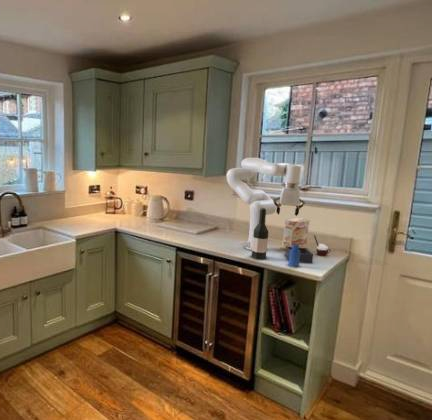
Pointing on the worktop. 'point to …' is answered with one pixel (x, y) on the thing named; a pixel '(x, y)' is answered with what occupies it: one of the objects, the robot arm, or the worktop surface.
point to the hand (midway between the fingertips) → (287, 214)
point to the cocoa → (321, 248)
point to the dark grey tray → (301, 254)
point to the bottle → (294, 256)
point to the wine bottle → (260, 238)
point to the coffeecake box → (295, 232)
